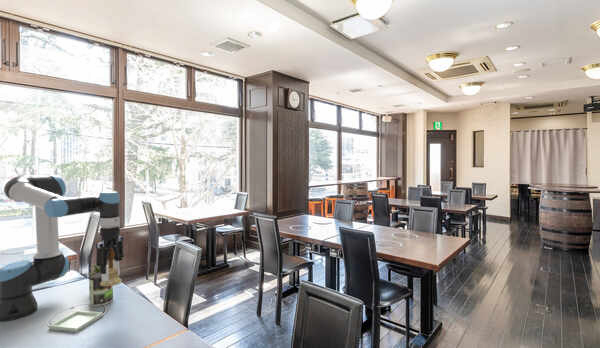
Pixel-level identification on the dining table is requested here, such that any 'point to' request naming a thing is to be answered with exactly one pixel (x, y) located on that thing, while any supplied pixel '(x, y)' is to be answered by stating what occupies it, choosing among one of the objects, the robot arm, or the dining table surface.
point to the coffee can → (99, 291)
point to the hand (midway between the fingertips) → (110, 277)
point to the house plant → (95, 270)
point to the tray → (76, 321)
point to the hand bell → (111, 272)
